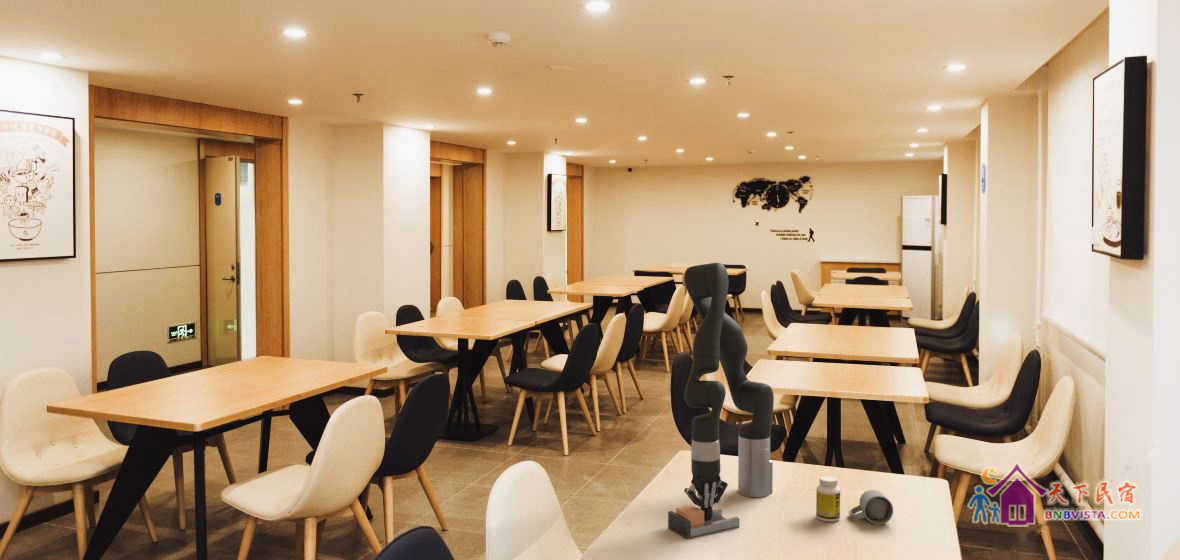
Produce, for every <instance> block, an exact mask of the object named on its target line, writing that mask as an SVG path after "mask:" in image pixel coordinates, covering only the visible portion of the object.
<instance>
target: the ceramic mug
mask: <svg viewBox="0 0 1180 560" xmlns="http://www.w3.org/2000/svg"><path fill="white" fill-rule="evenodd" d="M893 514H894V506H893V503H892V502H891V500H890V499H889V498H887V497H886V495H884V493H883V492H881V491H878V490H875V489H868V490H866V491H864V492H863V493H862V494H861V495H860V497H859V504H858V505H856V506H854V507H853V508H851V509H850V510H849V511H848V515H849V518H850V519H851V520H853V521H854V520H855V521H857V520H861V519H864V518H865V519H866V520H867V521H868V522H870V523H872V524H874V525H885V524H887V523H888V522H889V521H890V520H892V517H893Z"/></svg>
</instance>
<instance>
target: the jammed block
mask: <svg viewBox="0 0 1180 560" xmlns="http://www.w3.org/2000/svg"><path fill="white" fill-rule="evenodd" d="M675 513H677V514H678V515H680V516H682V517H684V518H686V519H687V520H689V521H691V527H693V526H697V525H702V524H704V511H703V510H701V508H700V507H699V508H698V506H697V507H696V505H692V504H689V505H684V506H679V507H676V508H675Z"/></svg>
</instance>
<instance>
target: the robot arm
mask: <svg viewBox="0 0 1180 560" xmlns="http://www.w3.org/2000/svg"><path fill="white" fill-rule="evenodd" d="M728 273H729V272H728V270H727V268H726V267H725V265H724V264H723V263H721V262H711V263H706V264H705V263H704V264H698V265H693V266H689V267H687V268H686V270H684V285H685V288H686V291H687V293H688V296H689V297H690V300H691V301H692V303H693V305H694V307H695V309H696V311H697V312H698V314H699V316H700V318H701V320H702V323H701V324H700V325H699V327H698V329H697V331H696V333H695V335H694V338H693V345H692V363H691V370H690V373H689V376H688V379H687V383H686V385H685V388H684V393H683V398H684V401H685V403H686V405H687V406H688V407H691V408H698V409H699V408H701V409H702V408H704V409H706V408H707V409H711V411H710V412H708V413H705V414H700V415H696V416H693V418H692V420H691V445H690V446H691V448H690V452H691V455H690V458H691V466H690V467H691V469H690V470H691V474H692V478H691V481H690V482H691V484H690V486H688V487H685V488H684V490H683V491H684V493H685V494H686V495H687V497H688V498H689V499H690V501H691V502H692V503H693V504H694V506H697V507H699V508H700V509H701V510H703V511H704V520H705V521H709V520H711V518H712V509H713V506H714V505H715V504H719V502H720V500H721V498H722V496H723V494H724V493H725V490H726V489H727V488H728V483H727V482H726V481H723V480H722V478H721V476H720V474H721V445H720V420H721V419H720V418H721V414H722V413H721V412H722V409H723V405H724V402H725V400H726V387H725V386H724V384H723V383H722V381H719V380H700V379H701V378H702V377H703V376H704V375H708V374H713V373H716V372H717V371H718V370H719V369H720V365H721V369H722V370H723V373H724V377H725V378H726V381H727V386H728V390H729V393H730V397H731V400H732V402H733V404H734V406H735V407H736V409H737V410H739V411H741V412H745V413H749V414H752V420H751V421H750V422H745V423H742V424H740V425H738V426H739V427H738V452H737V453H738V454H737V455H738V457H737V458H738V459H737V460H738V468H737V470H738V473H737V474H738V477H737V478H738V479H737V481H738V483H737V484H738V487H737V489H738V490H737V491H738V493H739V494H740V495H743V496H744V495H745V496H744V497H750V498H763V497H767V496H769V495H770V494H771V493H773V478H774V477H773V470H774V469H773V468H774V467H773V464H774V463H773V461H772V460H771V431H772V427H773V421H774V420H773V418H774V417H773V416H774V401H775V399H774V397H775V396H774V390H773V388H772V386H771V385H769V384H768V383H764V382H763V383H762V382H758V381H751V380H749V379H748V377H747V375H746V373H745V369H744V363H745V361H746V358H747V354H748V343H747V339H746V338H745V335H744V332H743V330H742V327H741V326H740V325H739V323H738V322H736V320H735V319H734V318H733V317H731V316H730V315H728V314H727V313H726V312H725V311H726V304H727V299H728V292H729V284H730V283H729V274H728Z"/></svg>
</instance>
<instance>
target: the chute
mask: <svg viewBox="0 0 1180 560" xmlns="http://www.w3.org/2000/svg"><path fill="white" fill-rule="evenodd" d="M738 528H740V517H738V516H733V517H729V518H726V517H724V516H723V509H722V508H721V507H719V508H718V507H717V508H712V518H711V520H709V521H705V520H704V524H702V525H697V526H693V527H691V521H689V520H687V519H686V518H684V517H682V516H680V515H678V514H677V513H676V511H673V510H670V511H668V512H667V529H669V530H670V531H672V532H673V533H674V534H677V535H679V536H680V537H682V538H684V540H691V539H695V538H701V537H704V536H708V535H712V534H717V533H721V532H724V531H725V532H727V531H730V530H734V529H738Z"/></svg>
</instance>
